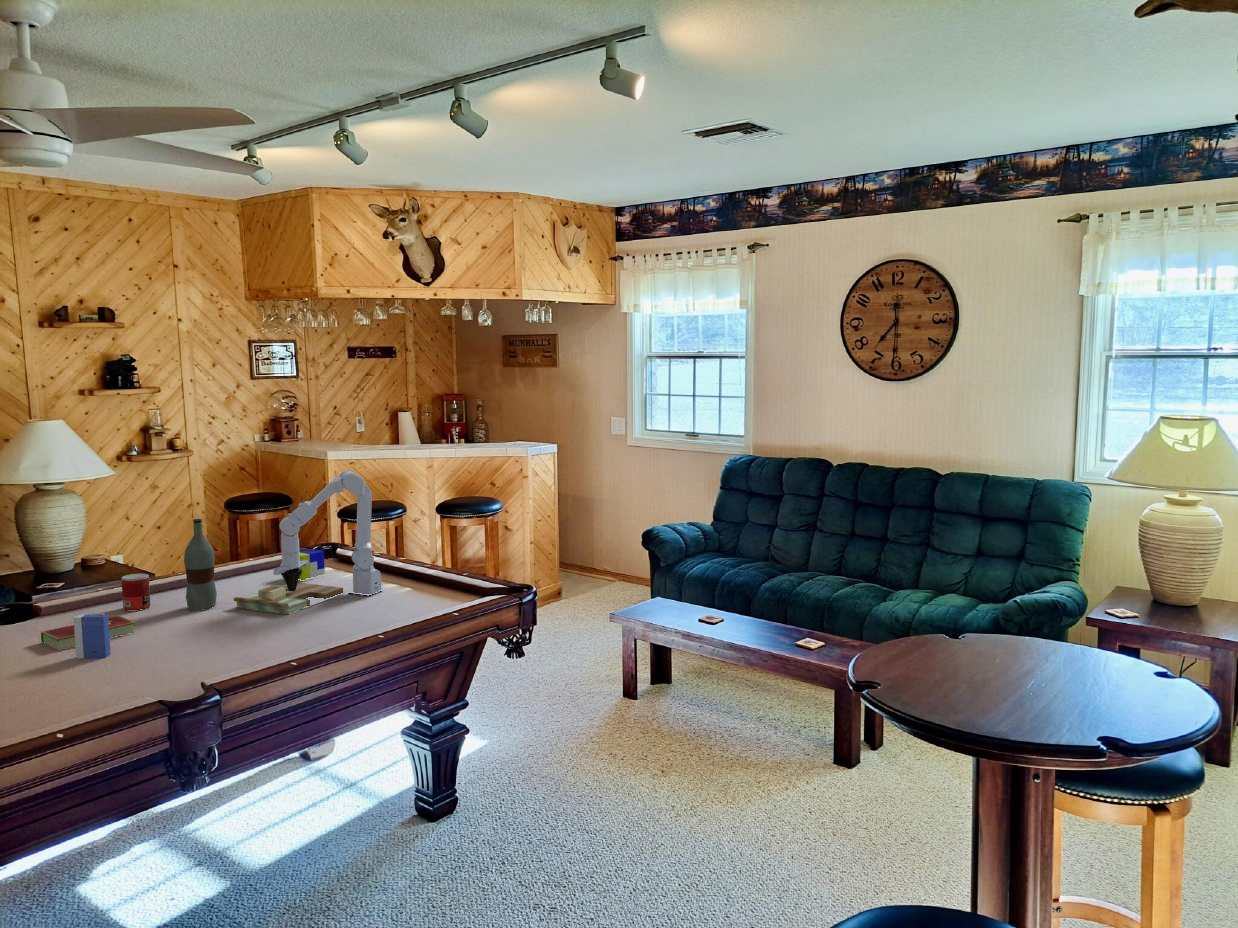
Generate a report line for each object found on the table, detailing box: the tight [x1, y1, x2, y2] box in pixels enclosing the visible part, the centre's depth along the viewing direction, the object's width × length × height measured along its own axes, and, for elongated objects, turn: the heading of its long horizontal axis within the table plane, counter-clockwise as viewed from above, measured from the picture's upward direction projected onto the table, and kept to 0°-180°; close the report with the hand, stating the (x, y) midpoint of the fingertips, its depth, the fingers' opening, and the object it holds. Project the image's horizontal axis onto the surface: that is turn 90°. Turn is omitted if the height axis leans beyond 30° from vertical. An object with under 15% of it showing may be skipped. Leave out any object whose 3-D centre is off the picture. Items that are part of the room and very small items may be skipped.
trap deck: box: [233, 581, 344, 615], centre depth 293 cm, size 22×28×4 cm
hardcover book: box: [40, 615, 136, 651], centre depth 252 cm, size 12×21×4 cm, turn 143°
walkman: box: [73, 612, 112, 659], centre depth 236 cm, size 8×3×12 cm, turn 96°
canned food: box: [121, 573, 151, 611], centre depth 283 cm, size 8×8×11 cm
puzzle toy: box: [299, 547, 326, 580], centre depth 326 cm, size 10×10×10 cm
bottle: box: [183, 518, 218, 611], centre depth 283 cm, size 9×9×30 cm
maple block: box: [257, 585, 286, 602], centre depth 284 cm, size 6×6×4 cm
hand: (292, 590), depth 293 cm, fingers closed
